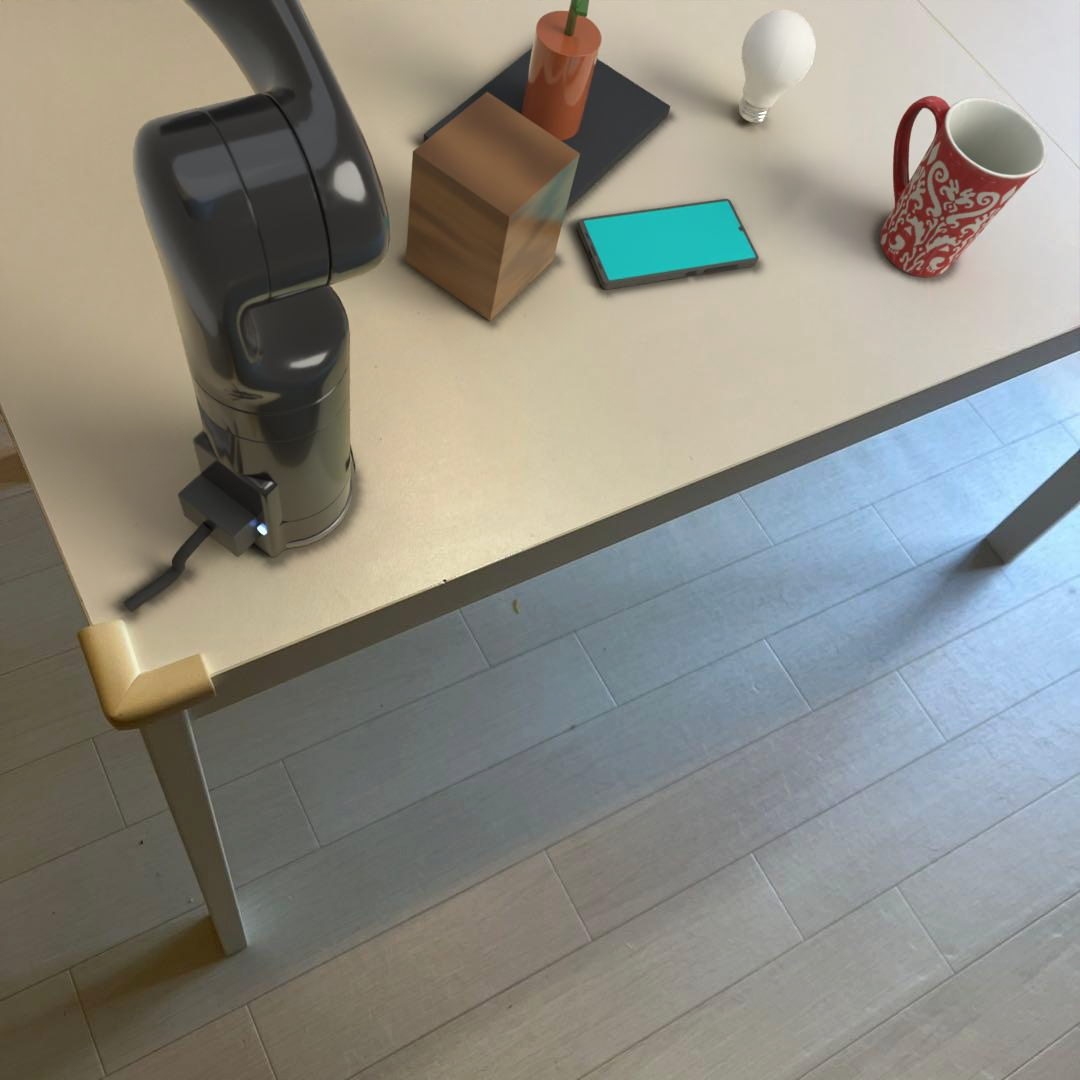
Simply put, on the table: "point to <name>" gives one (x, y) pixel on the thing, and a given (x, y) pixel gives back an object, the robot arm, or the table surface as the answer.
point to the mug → (956, 180)
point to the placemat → (586, 118)
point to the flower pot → (561, 70)
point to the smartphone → (666, 243)
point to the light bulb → (774, 60)
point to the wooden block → (487, 204)
